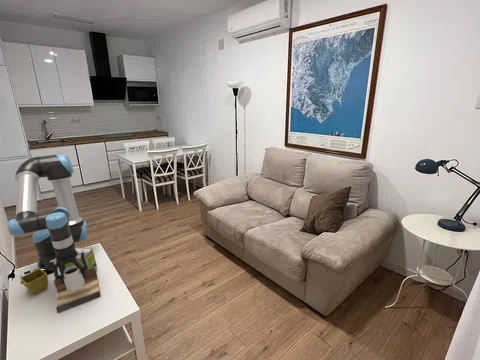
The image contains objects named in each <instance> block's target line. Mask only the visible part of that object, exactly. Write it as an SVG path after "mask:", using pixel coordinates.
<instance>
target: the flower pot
mask: <svg viewBox="0 0 480 360" xmlns="http://www.w3.org/2000/svg"><path fill="white" fill-rule="evenodd" d="M19 279H20V281H21V283H22V284H23V286H24V287H25V288H26V289H27V290H28V291H29V292H30V293H32V294H33V295H37V294H38V293H40V292H42V291H44V290H45V289H47V287H48V285H49V280H48V279H49V278H48V274H47V272H46V271H43V270H41V269H40V268H37V269H35V270H33V271H32V272H29V273H27V274H24V275H23V276H21V277H20V278H19Z"/></svg>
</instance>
